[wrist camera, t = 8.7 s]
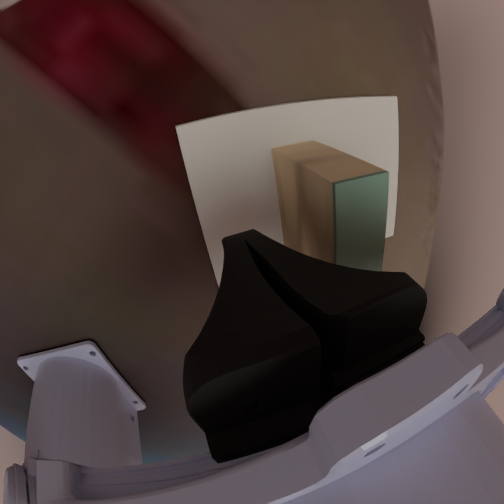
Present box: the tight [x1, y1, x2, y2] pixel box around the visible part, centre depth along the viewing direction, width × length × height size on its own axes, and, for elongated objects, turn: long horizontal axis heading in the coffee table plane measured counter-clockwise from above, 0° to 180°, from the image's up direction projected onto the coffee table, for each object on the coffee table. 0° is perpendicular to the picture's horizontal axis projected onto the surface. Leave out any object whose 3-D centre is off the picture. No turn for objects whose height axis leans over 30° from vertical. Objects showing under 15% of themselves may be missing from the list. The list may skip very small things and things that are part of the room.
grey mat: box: [175, 96, 399, 287], centre depth 16 cm, size 10×13×1 cm
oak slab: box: [271, 140, 389, 271], centre depth 13 cm, size 6×2×6 cm, turn 10°
